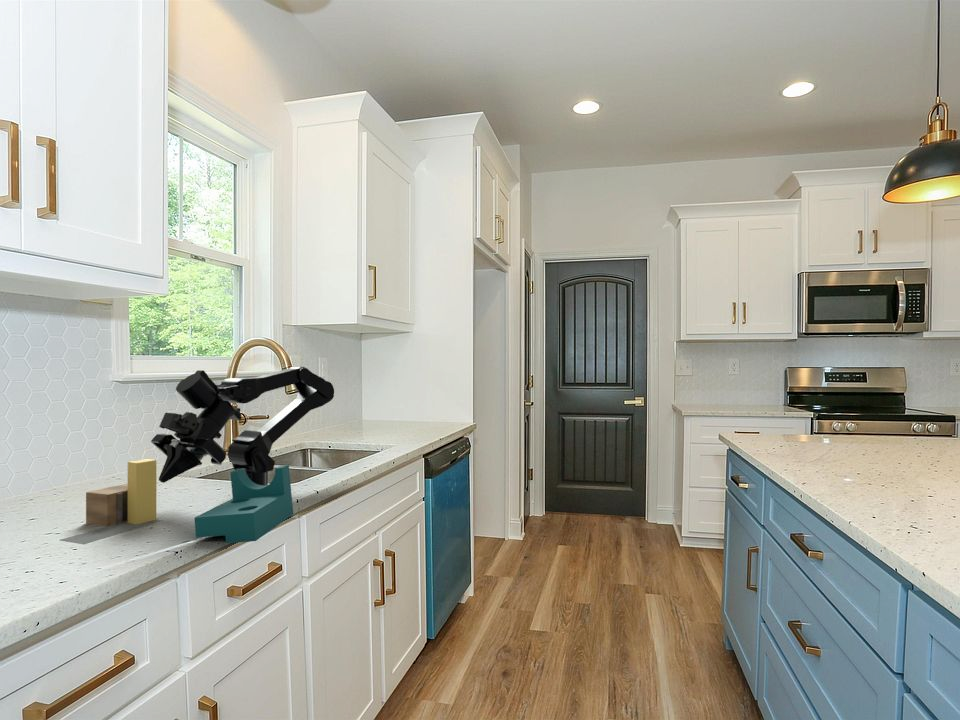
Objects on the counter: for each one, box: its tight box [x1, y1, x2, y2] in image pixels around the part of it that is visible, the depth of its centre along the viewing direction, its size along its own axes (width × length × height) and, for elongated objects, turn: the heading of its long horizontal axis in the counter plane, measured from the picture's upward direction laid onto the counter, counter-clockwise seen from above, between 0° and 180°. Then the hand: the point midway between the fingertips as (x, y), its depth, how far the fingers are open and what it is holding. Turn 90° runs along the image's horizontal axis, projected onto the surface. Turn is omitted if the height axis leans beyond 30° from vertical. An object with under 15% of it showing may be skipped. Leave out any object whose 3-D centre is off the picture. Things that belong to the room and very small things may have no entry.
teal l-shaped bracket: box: [193, 464, 294, 544], centre depth 111 cm, size 18×11×10 cm, turn 177°
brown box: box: [85, 482, 128, 527], centre depth 116 cm, size 10×7×6 cm, turn 159°
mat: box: [60, 518, 164, 545], centre depth 109 cm, size 16×6×1 cm, turn 159°
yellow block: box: [127, 458, 157, 525], centre depth 114 cm, size 4×3×12 cm
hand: (161, 481), depth 118 cm, fingers closed
